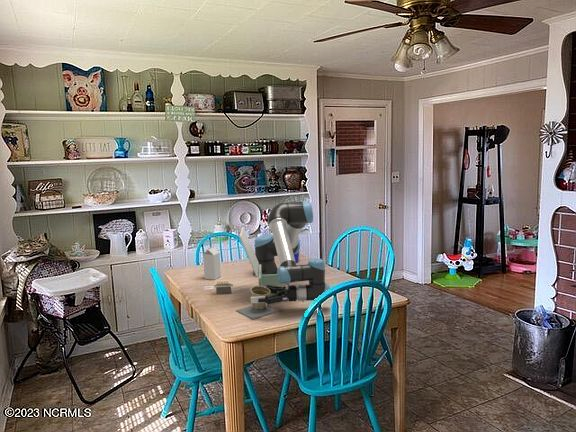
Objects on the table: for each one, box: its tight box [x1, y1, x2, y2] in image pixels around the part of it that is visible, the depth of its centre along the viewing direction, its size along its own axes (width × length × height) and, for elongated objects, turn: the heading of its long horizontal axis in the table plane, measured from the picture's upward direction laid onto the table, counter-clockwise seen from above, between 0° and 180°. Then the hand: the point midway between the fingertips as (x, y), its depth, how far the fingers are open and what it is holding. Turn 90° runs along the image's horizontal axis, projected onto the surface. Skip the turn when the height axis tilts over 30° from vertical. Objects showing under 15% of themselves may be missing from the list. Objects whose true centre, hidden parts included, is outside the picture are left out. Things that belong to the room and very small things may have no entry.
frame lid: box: [239, 226, 259, 278], centre depth 230 cm, size 22×26×1 cm
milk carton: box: [202, 245, 222, 280], centre depth 262 cm, size 7×7×19 cm
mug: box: [294, 251, 300, 263], centre depth 294 cm, size 8×12×10 cm
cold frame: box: [257, 264, 290, 301], centre depth 233 cm, size 16×26×12 cm, turn 3°
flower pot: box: [250, 285, 271, 310], centre depth 209 cm, size 9×9×9 cm
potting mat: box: [235, 305, 279, 320], centre depth 208 cm, size 14×14×1 cm
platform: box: [213, 280, 234, 295], centre depth 235 cm, size 12×18×7 cm, turn 94°
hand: (251, 295), depth 206 cm, fingers open, 13 cm apart
